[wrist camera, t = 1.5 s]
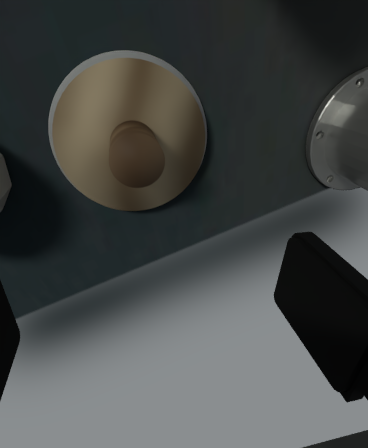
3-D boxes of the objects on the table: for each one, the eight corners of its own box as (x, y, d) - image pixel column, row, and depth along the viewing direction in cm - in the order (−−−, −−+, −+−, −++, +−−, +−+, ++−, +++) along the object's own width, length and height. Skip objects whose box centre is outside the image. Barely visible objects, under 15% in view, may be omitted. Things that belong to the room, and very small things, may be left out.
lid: (207, 61, 23) (233, 61, 18) (197, 201, 30) (215, 231, 25) (39, 54, 21) (14, 52, 16) (69, 209, 27) (58, 245, 22)
